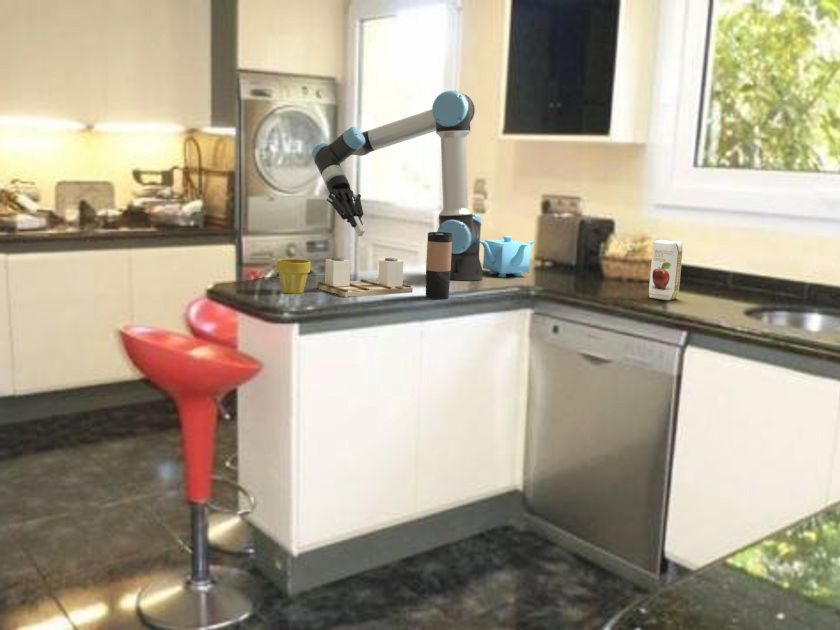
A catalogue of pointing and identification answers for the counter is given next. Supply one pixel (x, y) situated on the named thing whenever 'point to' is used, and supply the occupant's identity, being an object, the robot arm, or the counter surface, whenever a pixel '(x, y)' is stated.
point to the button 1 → (337, 272)
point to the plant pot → (293, 274)
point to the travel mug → (438, 265)
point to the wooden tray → (365, 288)
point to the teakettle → (506, 256)
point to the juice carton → (665, 269)
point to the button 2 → (390, 272)
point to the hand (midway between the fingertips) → (361, 233)
